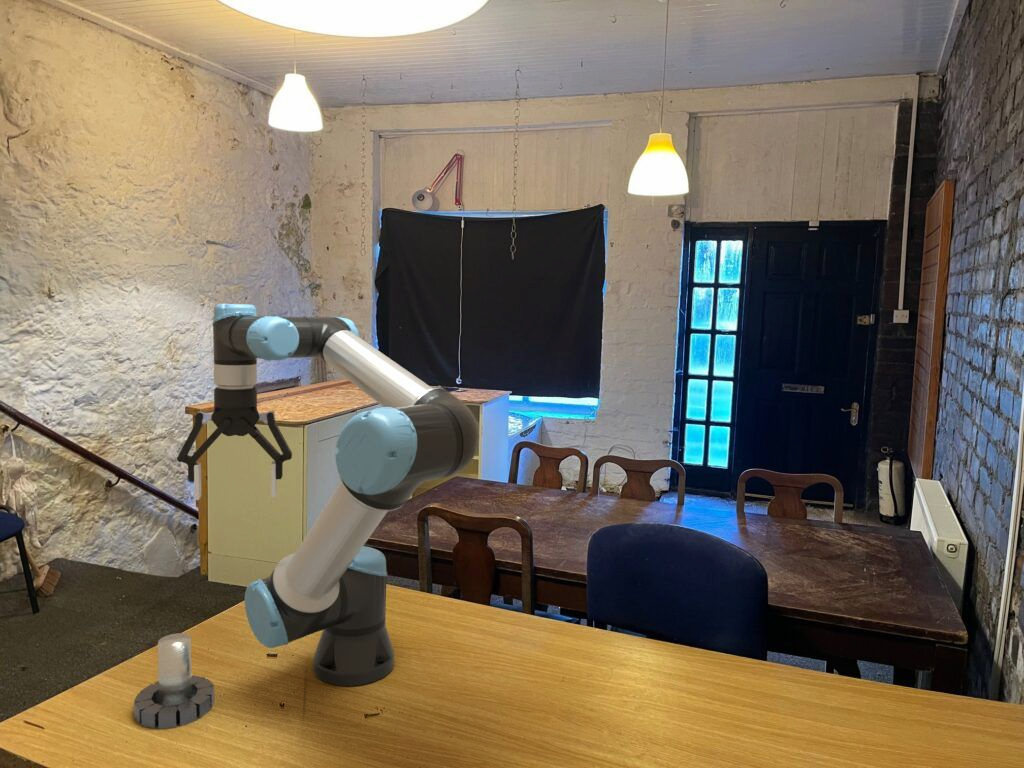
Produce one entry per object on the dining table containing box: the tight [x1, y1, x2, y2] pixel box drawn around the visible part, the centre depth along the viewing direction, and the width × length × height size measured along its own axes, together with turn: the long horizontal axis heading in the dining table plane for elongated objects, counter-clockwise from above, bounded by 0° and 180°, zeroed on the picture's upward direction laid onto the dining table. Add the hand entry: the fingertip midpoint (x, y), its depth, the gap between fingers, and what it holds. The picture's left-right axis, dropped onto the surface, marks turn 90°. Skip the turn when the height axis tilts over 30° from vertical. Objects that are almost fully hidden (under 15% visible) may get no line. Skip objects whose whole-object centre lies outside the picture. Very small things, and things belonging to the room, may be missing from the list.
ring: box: [133, 675, 215, 730], centre depth 120 cm, size 12×12×2 cm
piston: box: [157, 632, 192, 706], centre depth 120 cm, size 5×5×12 cm
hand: (236, 497), depth 135 cm, fingers open, 13 cm apart
